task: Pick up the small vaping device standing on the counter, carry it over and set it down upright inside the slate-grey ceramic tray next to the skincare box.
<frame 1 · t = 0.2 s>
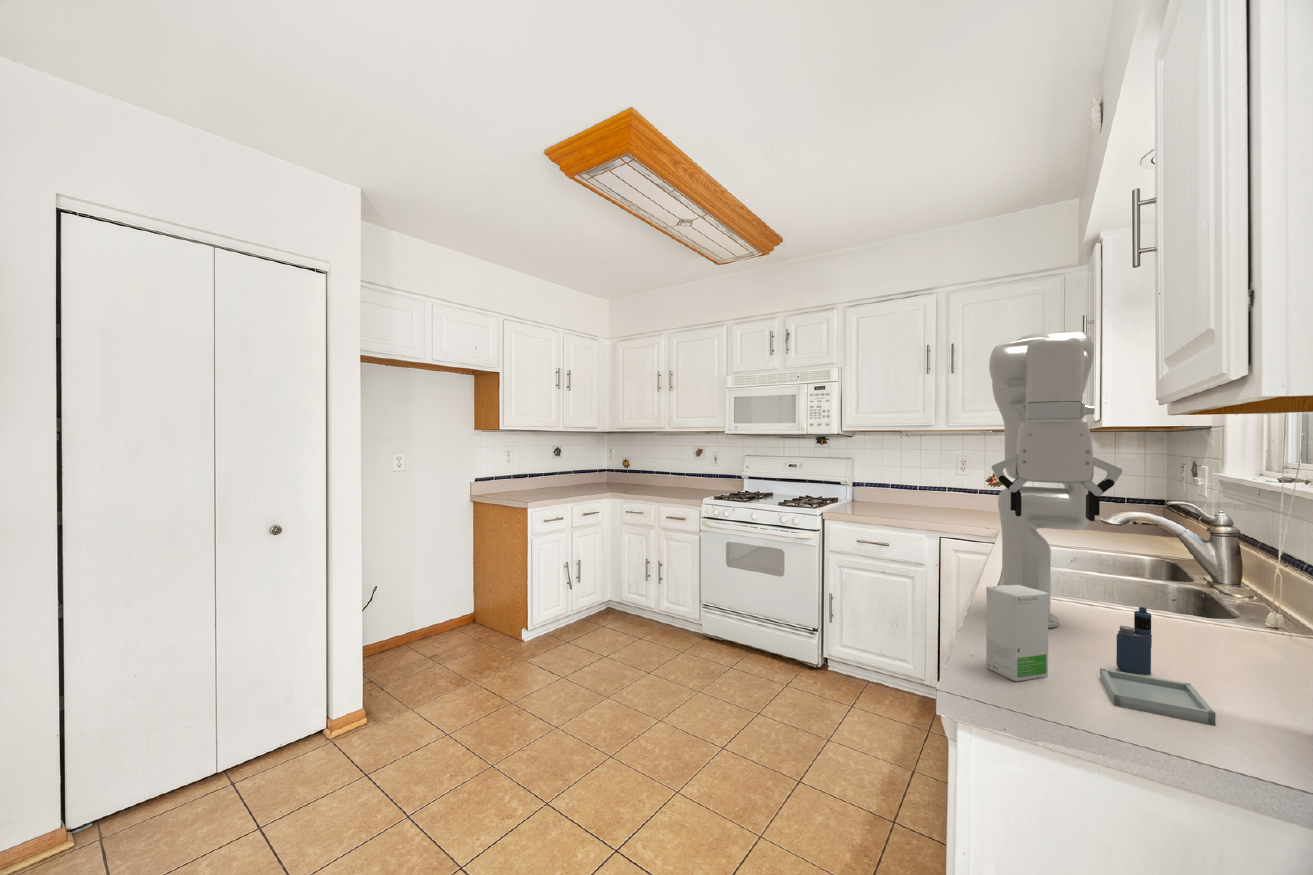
hand: (1053, 517, 88), 31 cm above the counter, fingers open, 9 cm apart
skincare box: (1015, 672, 100), on the counter
vaping device: (1133, 672, 100), on the counter
tray: (1152, 699, 90), on the counter
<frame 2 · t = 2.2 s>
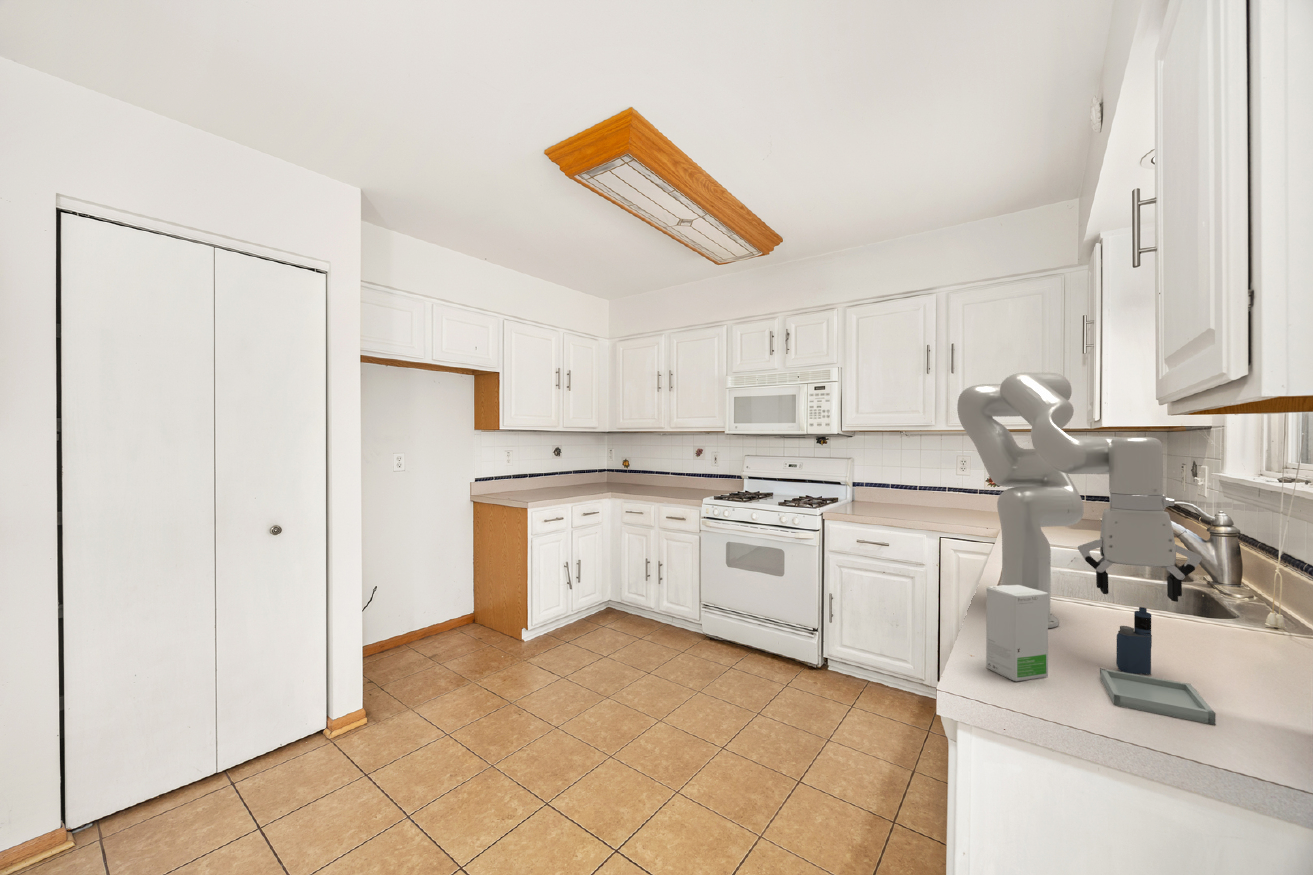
hand: (1137, 595, 99), 14 cm above the counter, fingers open, 9 cm apart
nothing on the counter moved.
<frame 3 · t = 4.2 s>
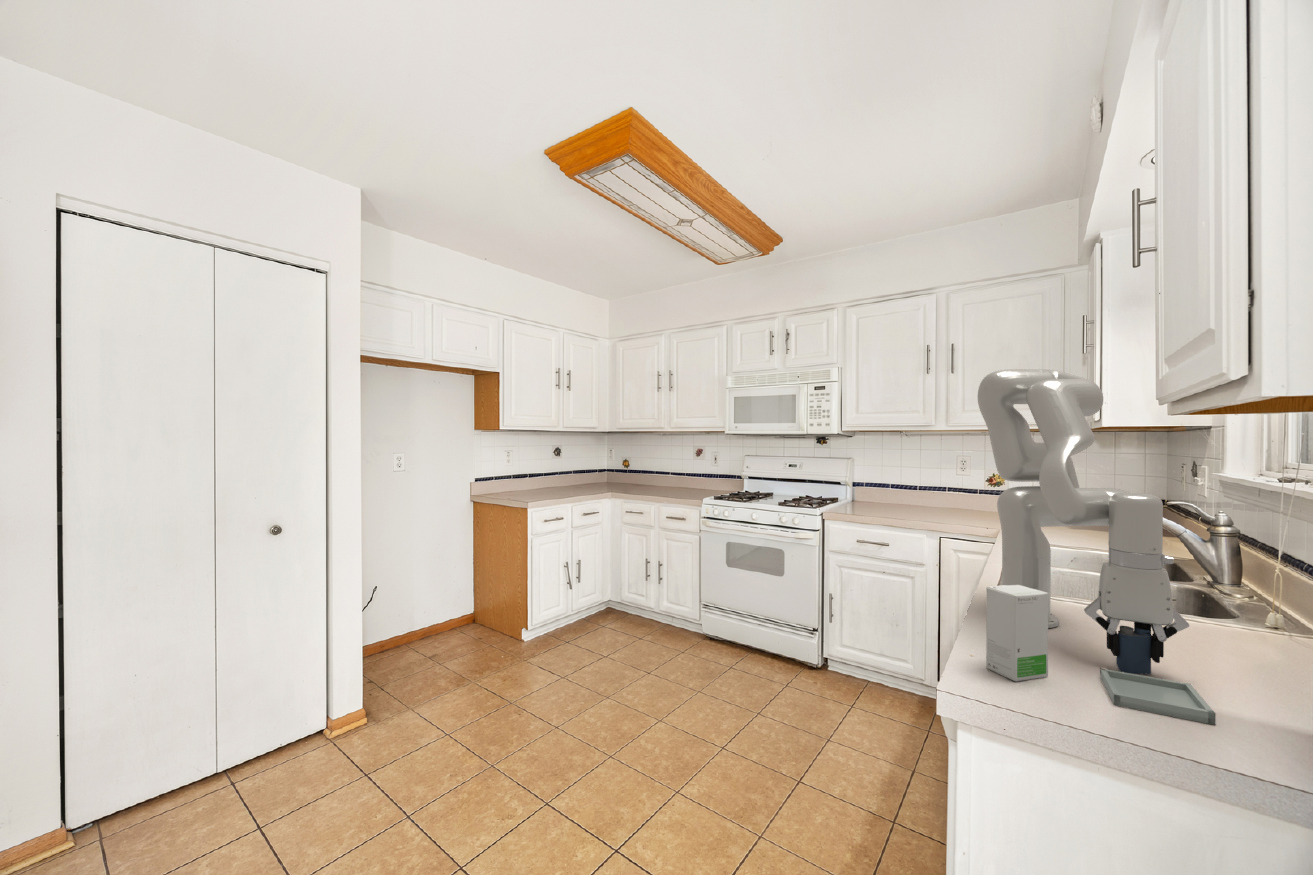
hand: (1134, 655, 100), 3 cm above the counter, fingers closed on vaping device, 5 cm apart
vaping device: (1133, 672, 100), on the counter, touching gripper
everything else where it was.
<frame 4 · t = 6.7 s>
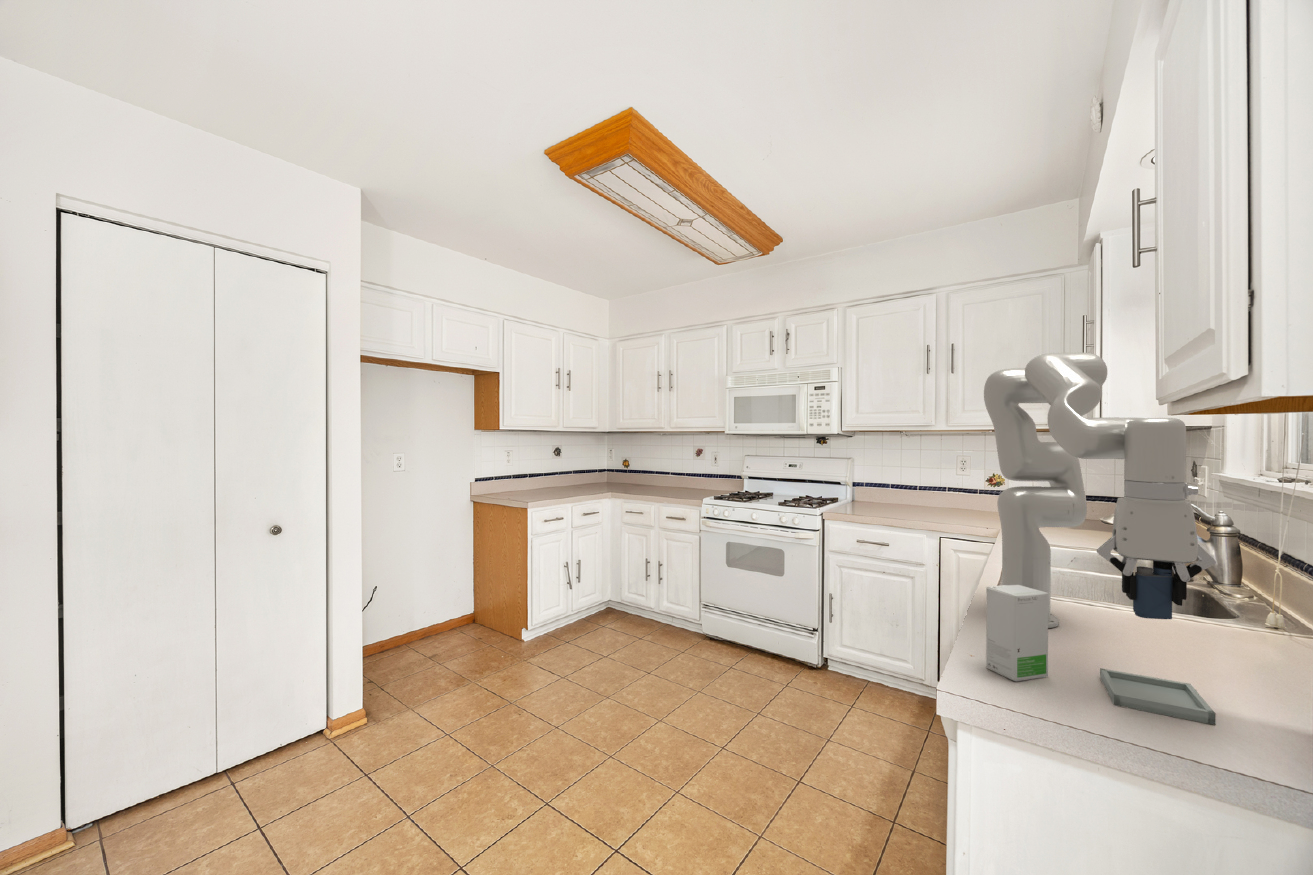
hand: (1153, 599, 90), 17 cm above the counter, fingers closed on vaping device, 5 cm apart
vaping device: (1152, 617, 90), point 14 cm above the counter, touching gripper
everything else where it was.
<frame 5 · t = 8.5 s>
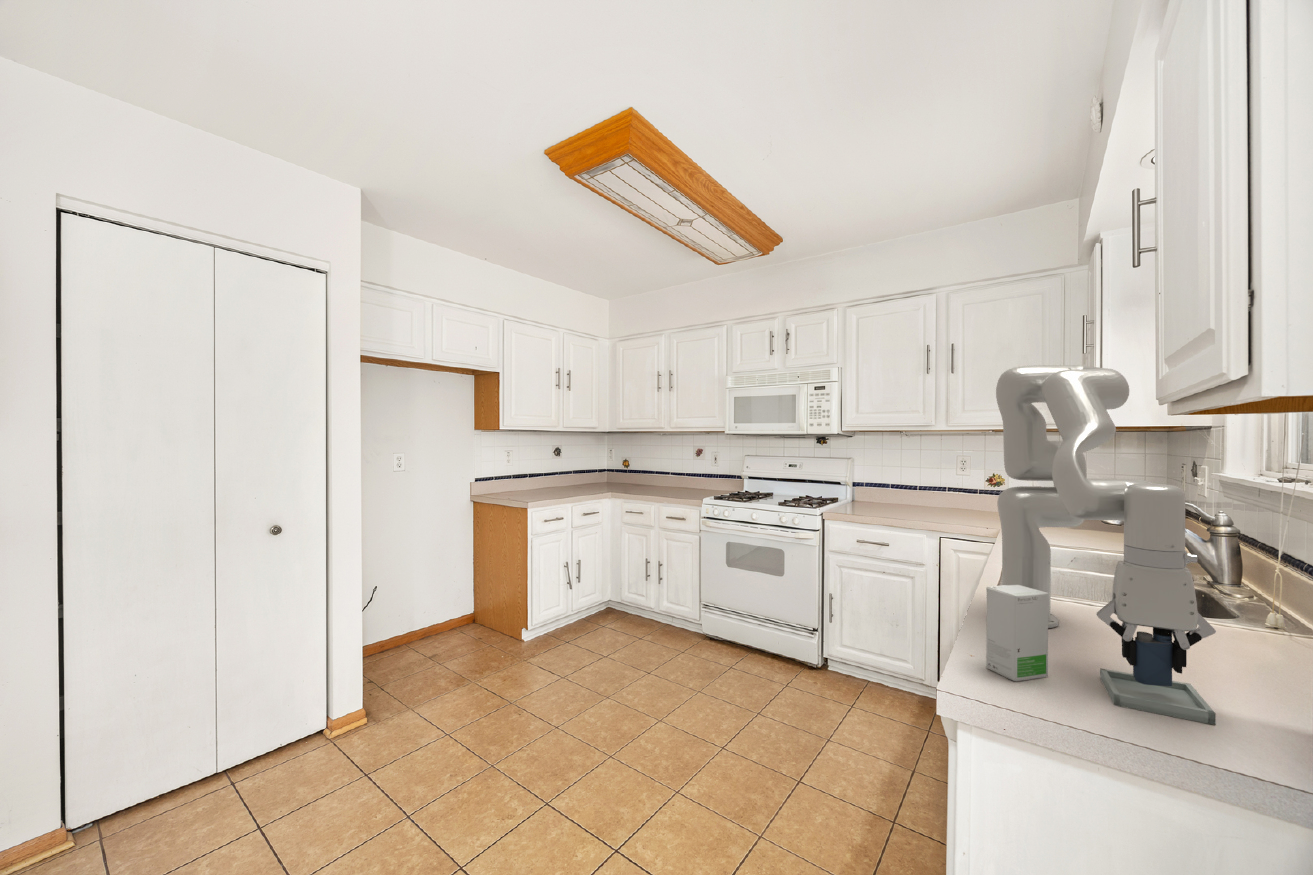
hand: (1153, 665, 90), 6 cm above the counter, fingers closed on vaping device, 5 cm apart
vaping device: (1152, 683, 90), point 3 cm above the counter, touching gripper
everything else where it was.
when the fingers open (4 cm above the counter, at t = 9.6 s): vaping device stays where it is, resting on tray.
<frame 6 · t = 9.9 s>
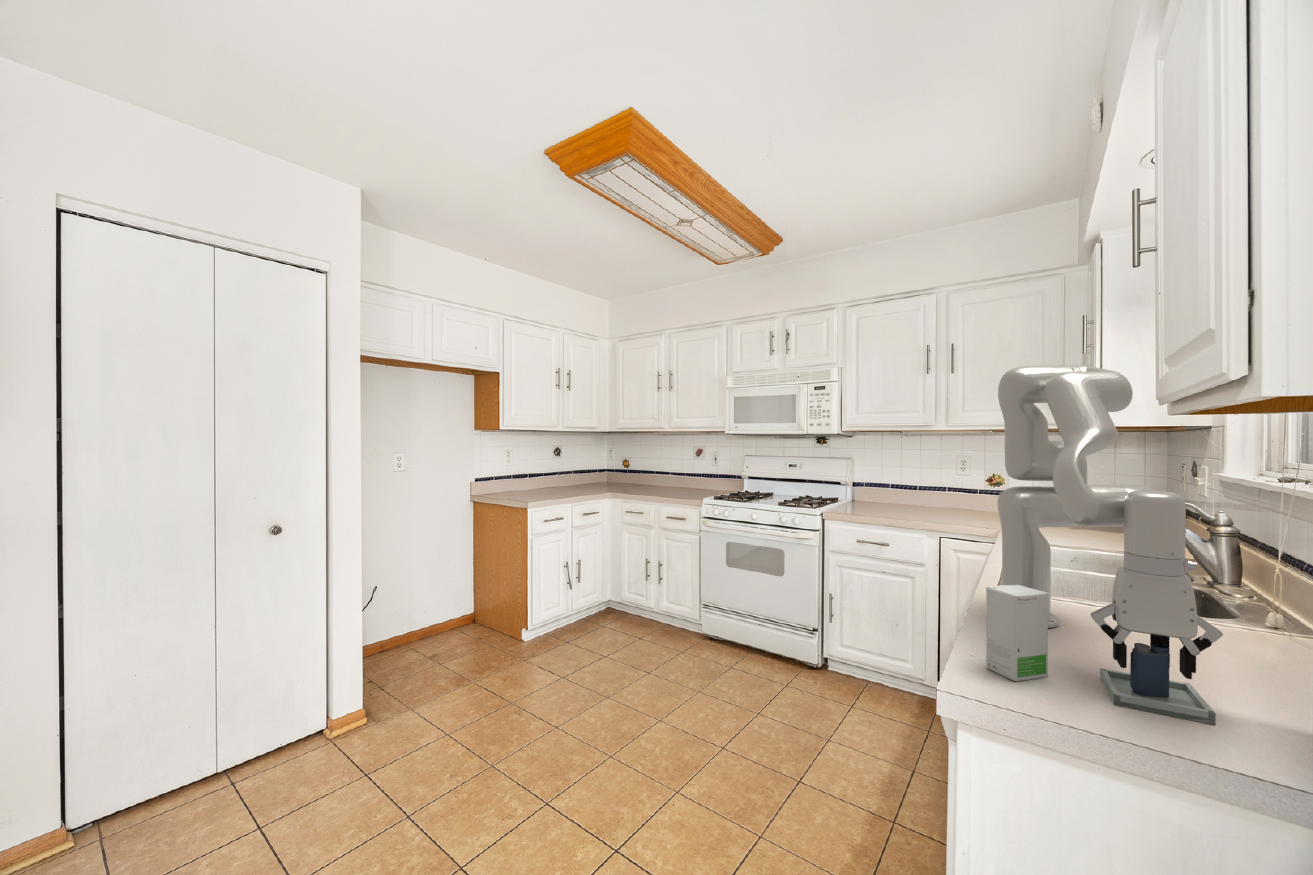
hand: (1152, 669, 90), 5 cm above the counter, fingers open, 7 cm apart
vaping device: (1149, 694, 90), point 1 cm above the counter, touching tray
everything else where it was.
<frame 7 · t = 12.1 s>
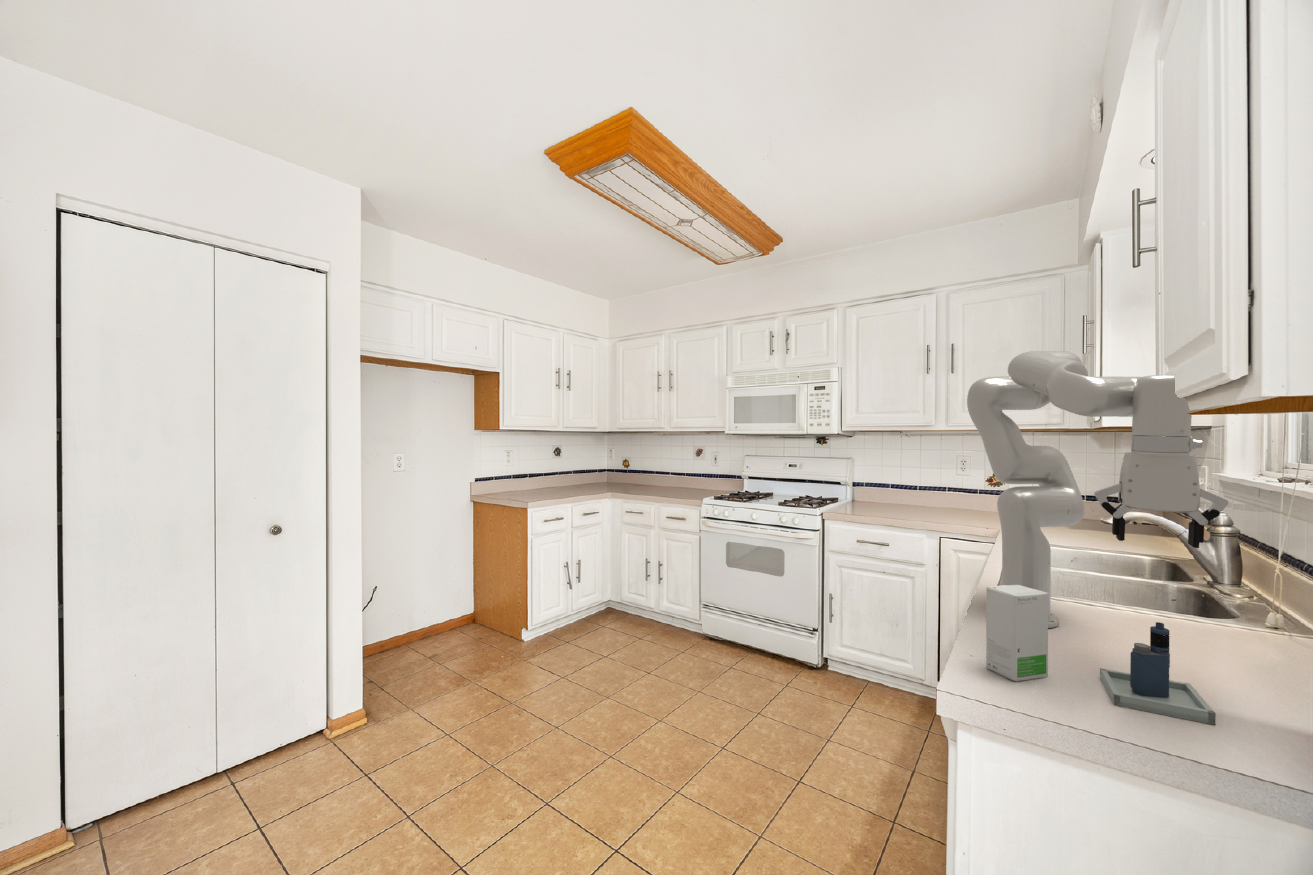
hand: (1155, 542, 95), 25 cm above the counter, fingers open, 9 cm apart
nothing on the counter moved.
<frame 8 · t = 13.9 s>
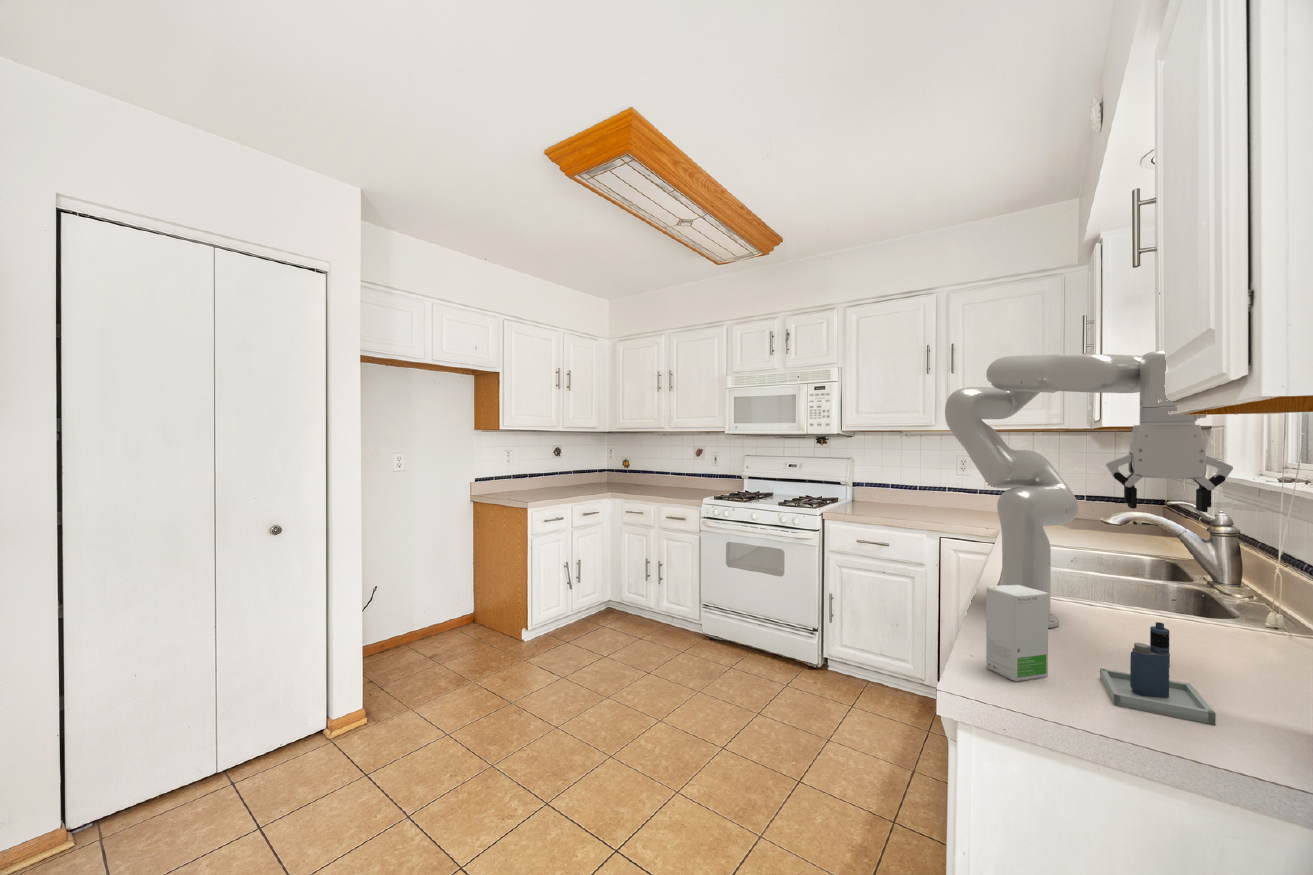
hand: (1166, 509, 100), 30 cm above the counter, fingers open, 9 cm apart
nothing on the counter moved.
at the end: vaping device inside the target area on the tray (0.4 cm from its centre), point 0.6 cm above the tray's base; vaping device tilted 0°; the gripper is holding nothing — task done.
